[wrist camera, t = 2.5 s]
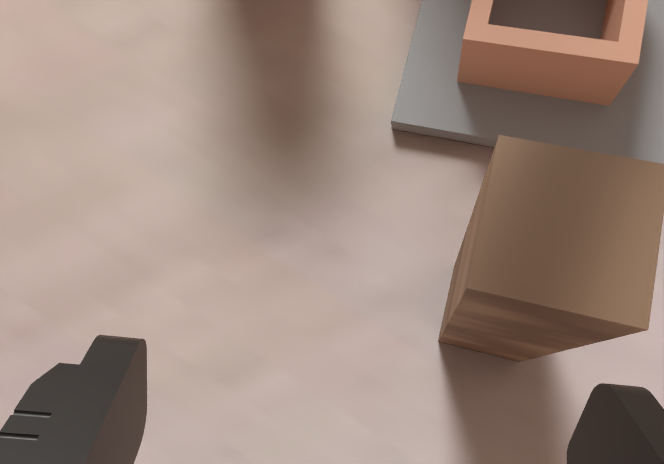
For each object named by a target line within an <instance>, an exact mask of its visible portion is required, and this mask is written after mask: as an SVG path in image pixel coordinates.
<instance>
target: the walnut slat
mask: <svg viewBox="0 0 664 464" xmlns="http://www.w3.org/2000/svg"><path fill="white" fill-rule="evenodd" d="M663 213H664V164H662V163H656V162H650V161H645V160H639V159H633V158H628V157H622V156H616V155H611V154H605V153H599V152H593V151H588V150H582V149H576V148H571V147H565V146H559V145H554V144H548V143H542V142H537V141H531V140H525V139H519V138H514V137H508V136H502V135H499V136H498V139H497V142H496V145H495V148H494V151H493V154H492V157H491V160H490V163H489V165H488V168H487V171H486V174H485V177H484V180H483V183H482V186H481V189H480V192H479V195H478V198H477V201H476V204H475V207H474V210H473V213H472V216H471V219H470V222H469V224H468V227H467V230H466V233H465V236H464V239H463V242H462V245H461V248H460V251H459V254H458V257H457V260H456V263H455V266H454V270H453V275H452V280H451V284H450V289H449V293H448V298H447V303H446V307H445V312H444V317H443V321H442V326H441V330H440V335H439V340H438V341H439V342H443V343H447V344H451V345H455V346H459V347H463V348H467V349H471V350H475V351H479V352H483V353H487V354H491V355H495V356H499V357H502V358H506V359H510V360H514V361H518V362H519V361H523V360H527V359H531V358H535V357H540V356H544V355H548V354H552V353H556V352H560V351H564V350H568V349H572V348H576V347H580V346H584V345H589V344H593V343H597V342H601V341H605V340H609V339H613V338H617V337H621V336H625V335H629V334H633V333H638V332H642V331H646V330H648V327H649V320H650V312H651V304H652V297H653V289H654V282H655V274H656V267H657V259H658V251H659V244H660V236H661V229H662V221H663Z"/></svg>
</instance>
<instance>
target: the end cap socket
mask: <svg viewBox="0 0 664 464" xmlns="http://www.w3.org/2000/svg"><path fill="white" fill-rule="evenodd" d="M391 124H392V129H395V130H401V131H407V132H412V133H418V134H423V135H429V136H434V137H440V138H445V139H451V140H457V141H462V142H468V143H473V144H479V145H484V146H490V147H495V145H496V142H497V139H498V136H499V135H502V136H508V137H514V138H519V139H525V140H531V141H537V142H542V143H548V144H554V145H559V146H565V147H571V148H576V149H582V150H588V151H593V152H599V153H605V154H611V155H616V156H622V157H628V158H633V159H639V160H645V161H650V162H656V163H662V164H664V0H422V4H421V8H420V11H419V15H418V19H417V23H416V27H415V31H414V35H413V39H412V42H411V46H410V50H409V54H408V58H407V62H406V66H405V70H404V73H403V77H402V81H401V85H400V89H399V93H398V97H397V101H396V104H395V108H394V112H393V116H392V120H391Z"/></svg>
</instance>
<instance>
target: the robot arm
mask: <svg viewBox="0 0 664 464" xmlns="http://www.w3.org/2000/svg"><path fill="white" fill-rule="evenodd" d="M146 414H147V347H146V341H145V340H144V339H138V338H127V337H117V336H106V335H98V336H97V337H96V338H95V340H94V341H93V343H92V345H91V346H90V348H89V350H88V351H87V353H86V355H85V357H84V358H83V360H82V362H81V364H80V365H76V364H65V363H59V364H57V365H56V366H55V367H53V368H52V369H51V370H49V371H48V372H47V373H45V374H44V375H43V376H41V377H40V378H39V379H37V380H36V381H34V382H33V383H32V384H31V385H30V387H29V388H28V390H27V391H26V393H25V394H24V396H23V397H22V399H21V400H20V402H19V403H18V405H17V406H16V408H15V409H14V414H13V415H10V417H9V418H8V420H7V421H6V423H5V425H4V426H3V428H2V429H1V431H0V464H134V461H135V458H136V456H137V453H138V450H139V447H140V444H141V441H142V437H143V433H144V428H145V422H146ZM567 464H664V409H663V408H662V406H661V405H660V404H659V402H658V401H657V400H656V399H655V397H654V396H653V395H652V394H651V392H650V391H648V390H647V389H645V388H643V387H636V386H625V385H614V384H599V385H597V386H596V387H595V388H594V389H593V391H592V392H591V395H590V397H589V399H588V401H587V404H586V406H585V408H584V410H583V413H582V415H581V417H580V419H579V422H578V424H577V426H576V429H575V431H574V433H573V435H572V438H571V440H570V442H569V445H568V449H567Z"/></svg>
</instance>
